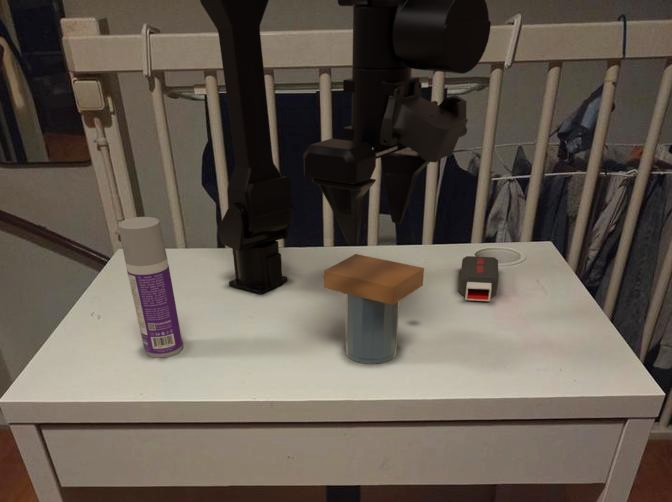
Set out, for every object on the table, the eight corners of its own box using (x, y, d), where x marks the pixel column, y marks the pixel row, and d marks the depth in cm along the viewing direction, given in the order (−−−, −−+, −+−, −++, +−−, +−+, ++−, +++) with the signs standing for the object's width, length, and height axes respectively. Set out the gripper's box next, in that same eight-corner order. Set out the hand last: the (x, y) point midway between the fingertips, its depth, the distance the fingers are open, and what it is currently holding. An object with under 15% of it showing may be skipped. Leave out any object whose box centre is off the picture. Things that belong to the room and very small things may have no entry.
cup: (336, 355, 74) (335, 290, 69) (363, 337, 78) (364, 273, 73) (379, 368, 71) (382, 301, 66) (405, 348, 75) (409, 283, 70)
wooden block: (323, 288, 69) (323, 270, 68) (355, 270, 73) (355, 253, 72) (393, 305, 65) (394, 286, 64) (423, 285, 69) (424, 267, 68)
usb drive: (496, 272, 94) (499, 253, 92) (496, 303, 84) (499, 283, 83) (461, 270, 95) (463, 252, 93) (457, 301, 85) (460, 281, 84)
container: (189, 343, 78) (168, 217, 68) (171, 360, 74) (146, 230, 65) (157, 338, 79) (132, 215, 70) (137, 355, 76) (108, 227, 66)
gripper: (405, 82, 50) (394, 273, 60) (501, 60, 61) (478, 223, 71) (297, 75, 55) (303, 252, 65) (403, 56, 67) (394, 209, 76)
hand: (375, 233), depth 69 cm, fingers open, 9 cm apart
